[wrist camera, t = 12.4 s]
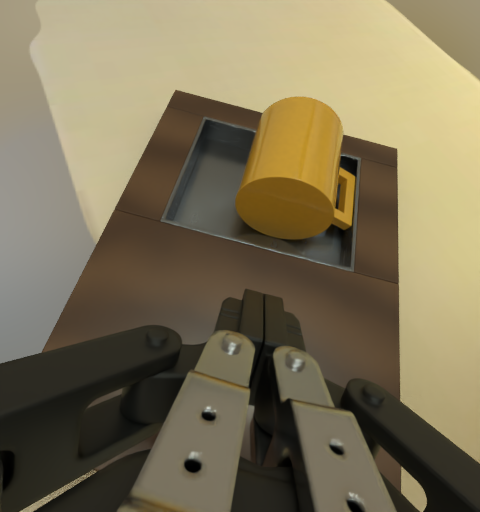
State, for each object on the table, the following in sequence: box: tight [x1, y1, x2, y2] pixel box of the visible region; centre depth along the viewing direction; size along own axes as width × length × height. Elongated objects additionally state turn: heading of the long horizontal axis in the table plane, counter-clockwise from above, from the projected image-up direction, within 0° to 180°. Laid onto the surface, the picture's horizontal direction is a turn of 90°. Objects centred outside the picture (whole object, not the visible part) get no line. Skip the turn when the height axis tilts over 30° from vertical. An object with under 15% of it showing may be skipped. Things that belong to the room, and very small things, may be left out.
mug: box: [235, 97, 355, 240], centre depth 27 cm, size 10×7×8 cm
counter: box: [42, 90, 401, 493], centre depth 25 cm, size 30×22×2 cm
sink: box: [160, 116, 361, 272], centre depth 28 cm, size 12×15×2 cm
